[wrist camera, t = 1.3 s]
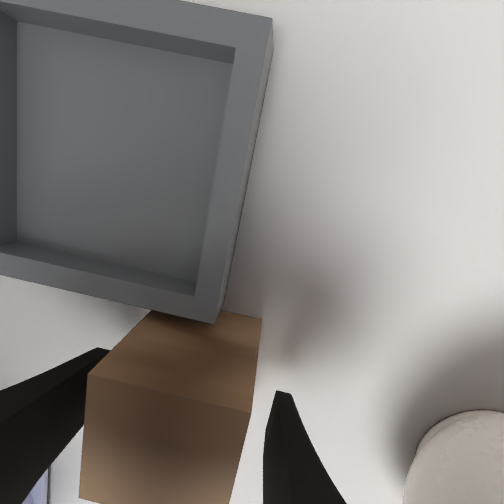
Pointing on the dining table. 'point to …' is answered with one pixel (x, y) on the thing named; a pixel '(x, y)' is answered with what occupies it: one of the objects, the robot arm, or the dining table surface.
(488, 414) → the lidded jar
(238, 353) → the walnut block
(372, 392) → the dining table surface
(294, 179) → the dining table surface
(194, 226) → the tray
